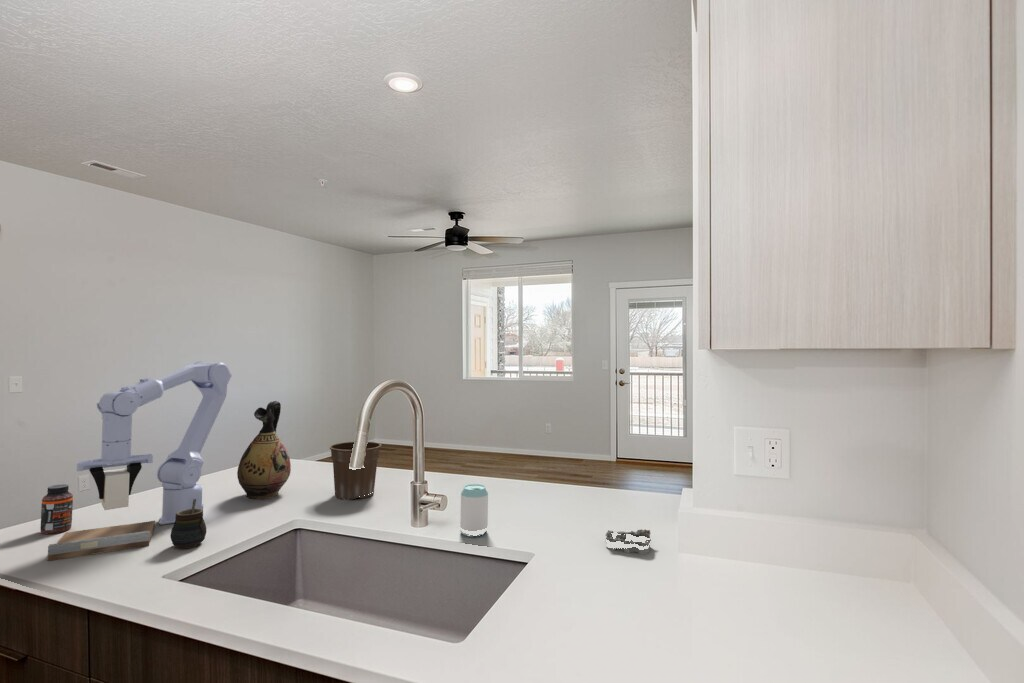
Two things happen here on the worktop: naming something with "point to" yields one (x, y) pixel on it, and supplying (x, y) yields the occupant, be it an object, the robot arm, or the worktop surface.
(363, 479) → the plant pot
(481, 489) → the can
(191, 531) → the mate gourd
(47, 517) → the supplement bottle
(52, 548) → the rail
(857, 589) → the worktop surface
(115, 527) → the brown flat panel
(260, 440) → the ceramic jug
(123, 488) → the carton
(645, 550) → the egg carton
